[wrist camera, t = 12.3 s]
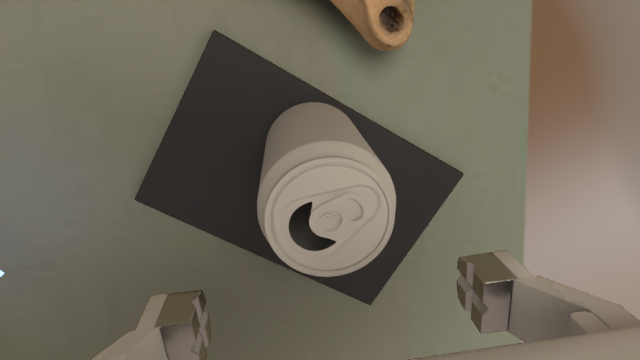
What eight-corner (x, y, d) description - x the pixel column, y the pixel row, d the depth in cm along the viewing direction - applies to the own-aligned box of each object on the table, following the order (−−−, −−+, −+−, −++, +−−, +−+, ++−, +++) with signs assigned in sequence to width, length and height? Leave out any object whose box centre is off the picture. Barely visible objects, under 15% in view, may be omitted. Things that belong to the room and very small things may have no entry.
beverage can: (248, 129, 28) (224, 197, 17) (331, 81, 27) (364, 120, 16) (295, 203, 30) (301, 308, 19) (373, 161, 30) (427, 244, 18)
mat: (136, 197, 30) (134, 200, 29) (214, 30, 26) (213, 30, 26) (369, 301, 34) (370, 305, 34) (461, 172, 31) (464, 174, 30)
